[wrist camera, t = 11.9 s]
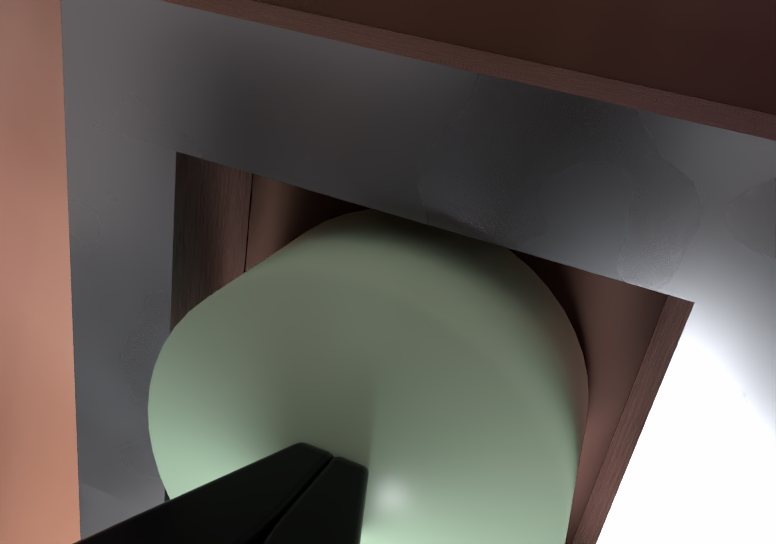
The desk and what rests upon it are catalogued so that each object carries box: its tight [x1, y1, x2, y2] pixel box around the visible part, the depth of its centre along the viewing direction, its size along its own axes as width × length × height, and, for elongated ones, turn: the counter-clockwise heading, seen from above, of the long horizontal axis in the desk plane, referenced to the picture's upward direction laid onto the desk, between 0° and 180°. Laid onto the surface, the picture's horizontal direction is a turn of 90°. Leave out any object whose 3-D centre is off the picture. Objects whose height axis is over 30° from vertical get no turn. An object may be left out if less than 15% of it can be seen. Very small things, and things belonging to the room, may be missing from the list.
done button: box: [148, 209, 589, 544], centre depth 9 cm, size 5×5×2 cm
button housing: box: [61, 0, 776, 544], centre depth 9 cm, size 9×9×2 cm
